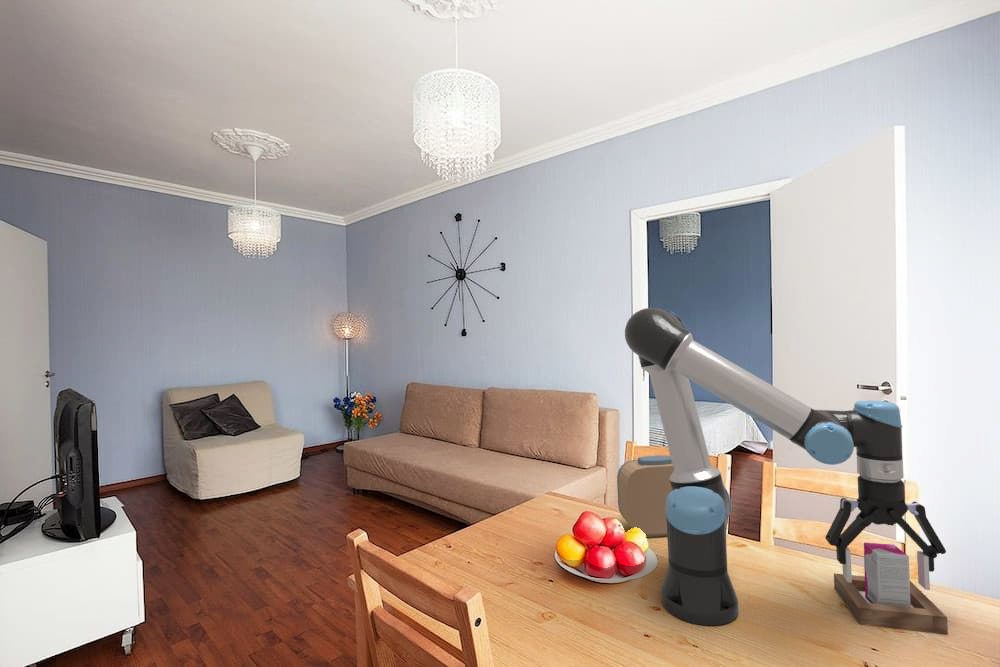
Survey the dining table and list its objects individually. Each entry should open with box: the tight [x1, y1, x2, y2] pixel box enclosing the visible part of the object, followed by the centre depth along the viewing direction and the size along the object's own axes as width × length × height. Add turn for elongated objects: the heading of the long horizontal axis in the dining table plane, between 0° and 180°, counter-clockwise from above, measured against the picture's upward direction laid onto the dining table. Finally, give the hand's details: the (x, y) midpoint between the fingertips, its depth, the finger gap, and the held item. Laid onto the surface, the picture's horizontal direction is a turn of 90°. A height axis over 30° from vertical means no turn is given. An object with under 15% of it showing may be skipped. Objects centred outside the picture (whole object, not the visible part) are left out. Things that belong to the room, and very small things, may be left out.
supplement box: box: [863, 542, 911, 607], centre depth 100 cm, size 6×6×12 cm
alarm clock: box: [616, 455, 674, 538], centre depth 144 cm, size 21×10×22 cm, turn 94°
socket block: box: [833, 573, 949, 635], centre depth 100 cm, size 14×14×3 cm
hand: (884, 582), depth 100 cm, fingers open, 12 cm apart
